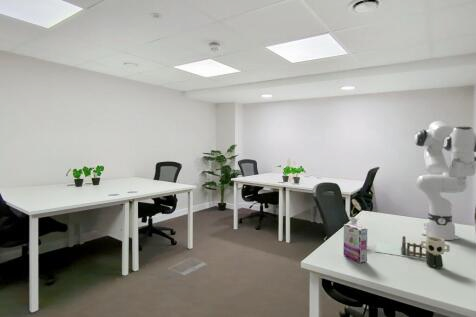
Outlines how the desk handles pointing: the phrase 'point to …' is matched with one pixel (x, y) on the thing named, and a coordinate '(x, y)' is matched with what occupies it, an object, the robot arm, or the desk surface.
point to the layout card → (397, 251)
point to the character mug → (435, 251)
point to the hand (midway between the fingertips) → (461, 185)
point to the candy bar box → (355, 243)
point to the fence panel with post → (413, 249)
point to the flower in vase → (358, 207)
